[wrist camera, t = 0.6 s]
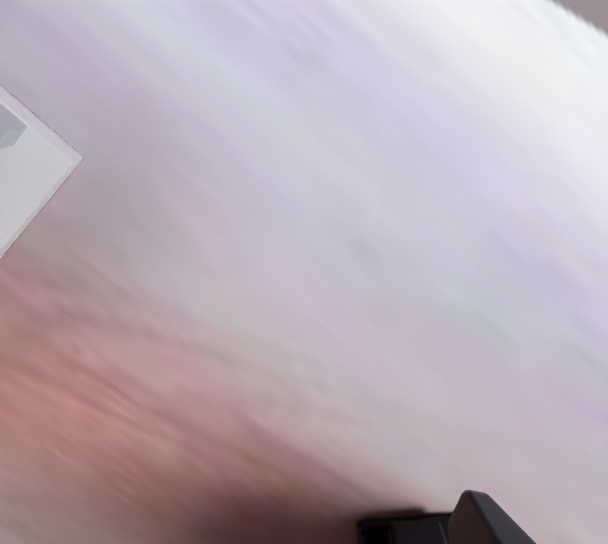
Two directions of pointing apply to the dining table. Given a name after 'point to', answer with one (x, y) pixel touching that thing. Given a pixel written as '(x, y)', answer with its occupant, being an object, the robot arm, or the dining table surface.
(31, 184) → the tray
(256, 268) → the dining table surface
